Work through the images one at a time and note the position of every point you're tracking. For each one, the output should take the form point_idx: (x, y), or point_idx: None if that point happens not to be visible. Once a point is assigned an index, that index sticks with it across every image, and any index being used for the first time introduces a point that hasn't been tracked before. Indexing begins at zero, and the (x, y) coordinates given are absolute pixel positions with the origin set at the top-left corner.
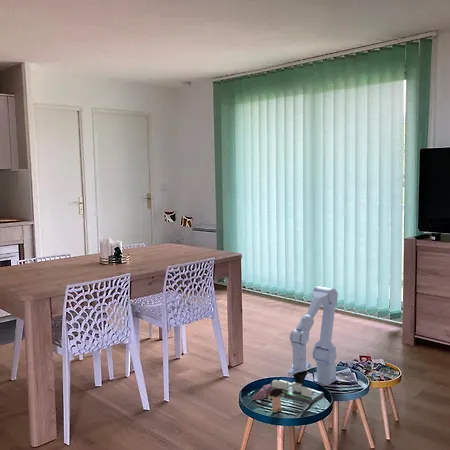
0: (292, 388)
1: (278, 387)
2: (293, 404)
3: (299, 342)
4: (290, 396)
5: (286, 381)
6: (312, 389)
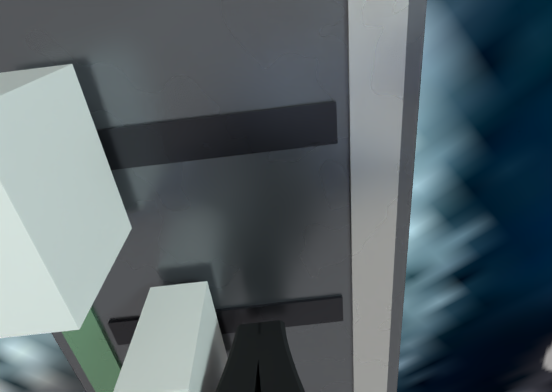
0: (145, 314)
1: (28, 18)
2: (11, 389)
3: None
4: None
5: (50, 295)
6: (384, 386)
